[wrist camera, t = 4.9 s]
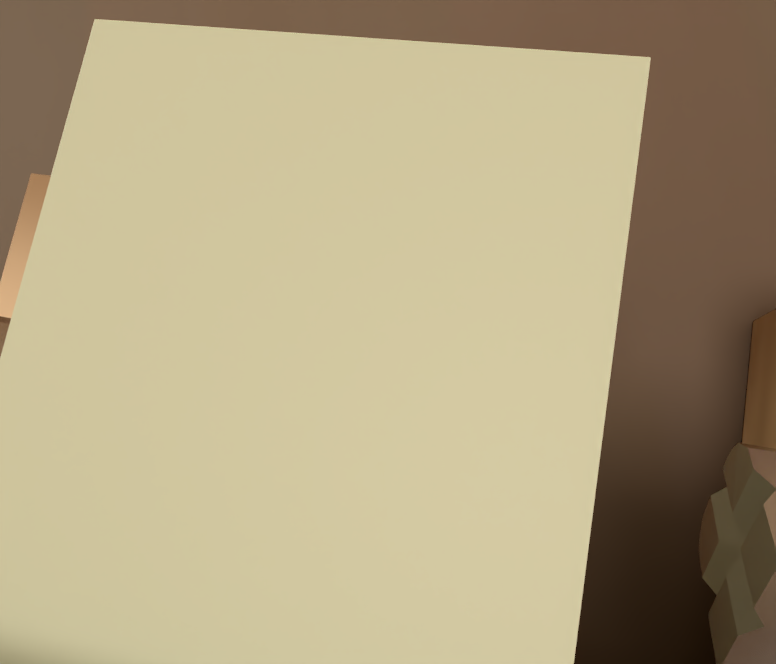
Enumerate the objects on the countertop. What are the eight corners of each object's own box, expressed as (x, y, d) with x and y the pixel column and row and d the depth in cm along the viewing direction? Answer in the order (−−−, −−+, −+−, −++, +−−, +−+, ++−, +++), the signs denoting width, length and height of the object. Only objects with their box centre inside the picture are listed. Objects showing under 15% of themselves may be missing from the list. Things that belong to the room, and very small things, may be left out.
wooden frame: (754, 1223, 10) (879, 1594, 7) (-42, 931, 13) (-232, 1094, 10) (821, 330, 13) (940, 281, 9) (134, 238, 15) (31, 173, 12)
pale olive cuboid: (498, 684, 12) (504, 1207, 4) (270, 628, 13) (-166, 947, 5) (551, 319, 14) (650, 57, 5) (338, 289, 14) (94, 18, 6)
